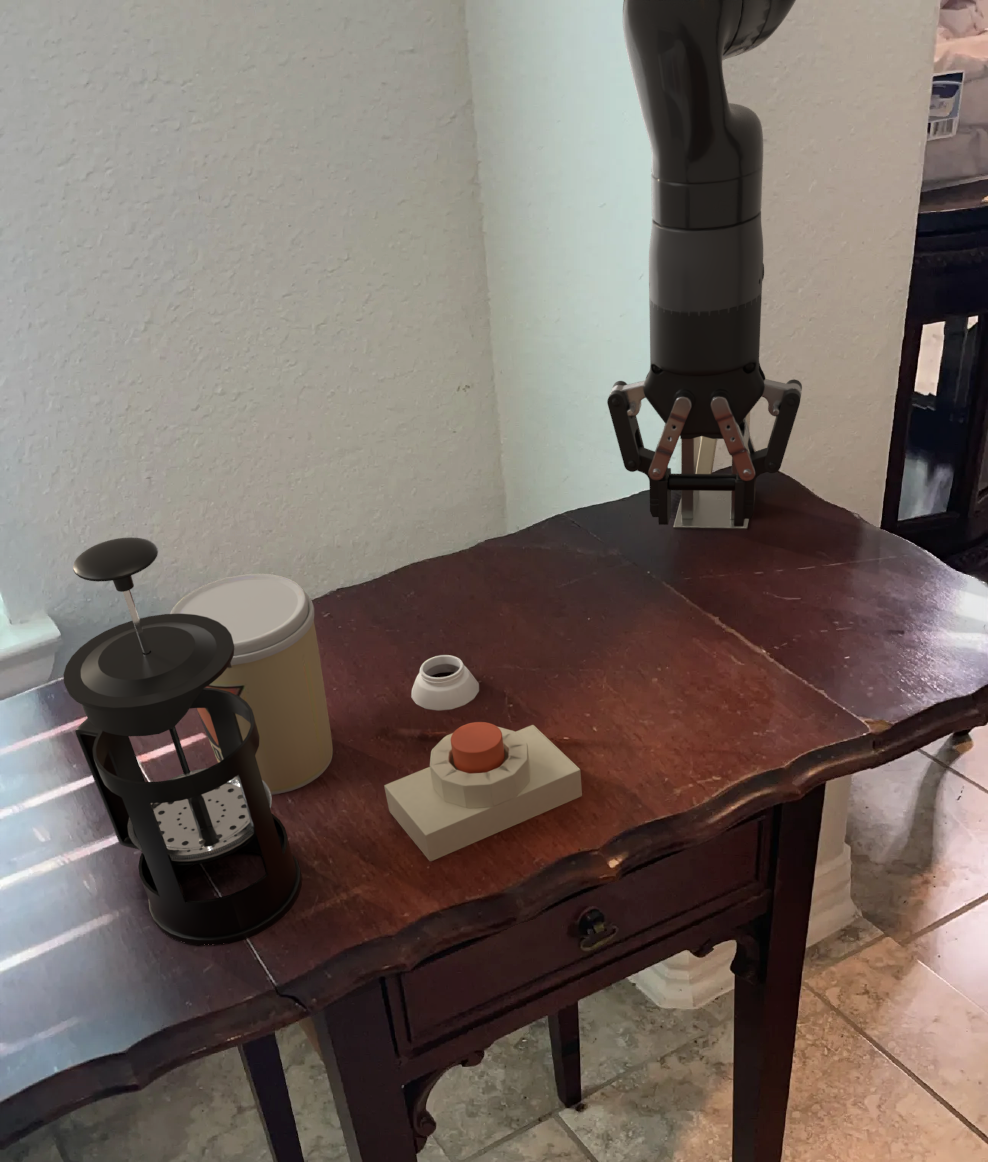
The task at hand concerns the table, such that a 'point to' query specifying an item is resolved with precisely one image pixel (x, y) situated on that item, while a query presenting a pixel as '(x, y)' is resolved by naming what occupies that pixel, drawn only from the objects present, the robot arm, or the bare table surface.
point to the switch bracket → (704, 497)
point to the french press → (195, 798)
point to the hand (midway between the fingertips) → (702, 519)
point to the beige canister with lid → (271, 673)
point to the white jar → (444, 684)
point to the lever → (703, 473)
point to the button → (477, 747)
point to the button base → (482, 793)
